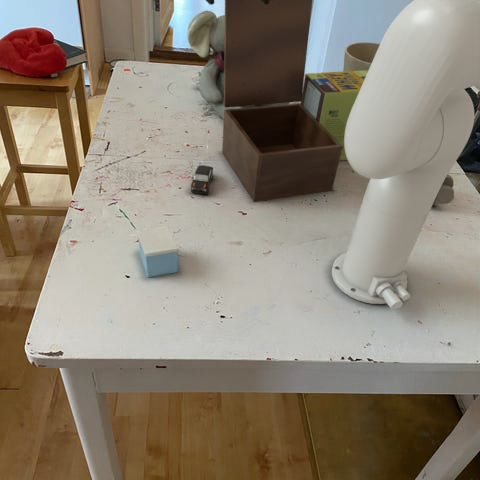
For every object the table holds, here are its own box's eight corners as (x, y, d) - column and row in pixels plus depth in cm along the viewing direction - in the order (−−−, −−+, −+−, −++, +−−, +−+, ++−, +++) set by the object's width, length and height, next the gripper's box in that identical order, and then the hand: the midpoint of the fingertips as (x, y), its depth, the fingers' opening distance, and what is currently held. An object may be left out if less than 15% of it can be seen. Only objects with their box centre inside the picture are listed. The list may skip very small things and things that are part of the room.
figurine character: (440, 202, 101) (374, 180, 102) (459, 171, 95) (388, 148, 96) (440, 219, 97) (370, 196, 97) (460, 188, 91) (386, 163, 92)
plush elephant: (297, 113, 122) (312, 22, 107) (232, 134, 112) (238, 36, 96) (231, 77, 135) (236, -8, 120) (167, 93, 124) (163, 1, 109)
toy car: (188, 194, 93) (188, 157, 87) (200, 164, 101) (200, 128, 95) (208, 197, 93) (209, 160, 87) (218, 166, 101) (219, 131, 95)
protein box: (371, 158, 109) (392, 88, 98) (310, 164, 105) (324, 92, 94) (350, 136, 116) (368, 69, 104) (292, 141, 112) (304, 72, 100)
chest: (331, 190, 98) (343, 146, 91) (253, 201, 93) (258, 155, 86) (293, 145, 110) (300, 103, 103) (221, 153, 105) (224, 109, 98)
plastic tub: (178, 272, 78) (178, 248, 74) (147, 278, 76) (145, 253, 72) (169, 249, 81) (168, 225, 78) (139, 254, 80) (136, 230, 76)
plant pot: (320, 109, 125) (334, 43, 113) (368, 105, 129) (386, 41, 118) (348, 136, 116) (366, 66, 104) (399, 130, 120) (421, 63, 108)
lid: (313, -13, 89) (301, -16, 93) (226, -13, 84) (216, -16, 88) (301, 101, 102) (290, 94, 106) (225, 107, 97) (216, 100, 101)
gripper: (193, -142, 62) (192, 9, 75) (311, -132, 67) (292, 8, 79) (179, -147, 67) (181, -4, 79) (290, -138, 71) (276, -5, 84)
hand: (237, 2), depth 79 cm, fingers open, 9 cm apart
